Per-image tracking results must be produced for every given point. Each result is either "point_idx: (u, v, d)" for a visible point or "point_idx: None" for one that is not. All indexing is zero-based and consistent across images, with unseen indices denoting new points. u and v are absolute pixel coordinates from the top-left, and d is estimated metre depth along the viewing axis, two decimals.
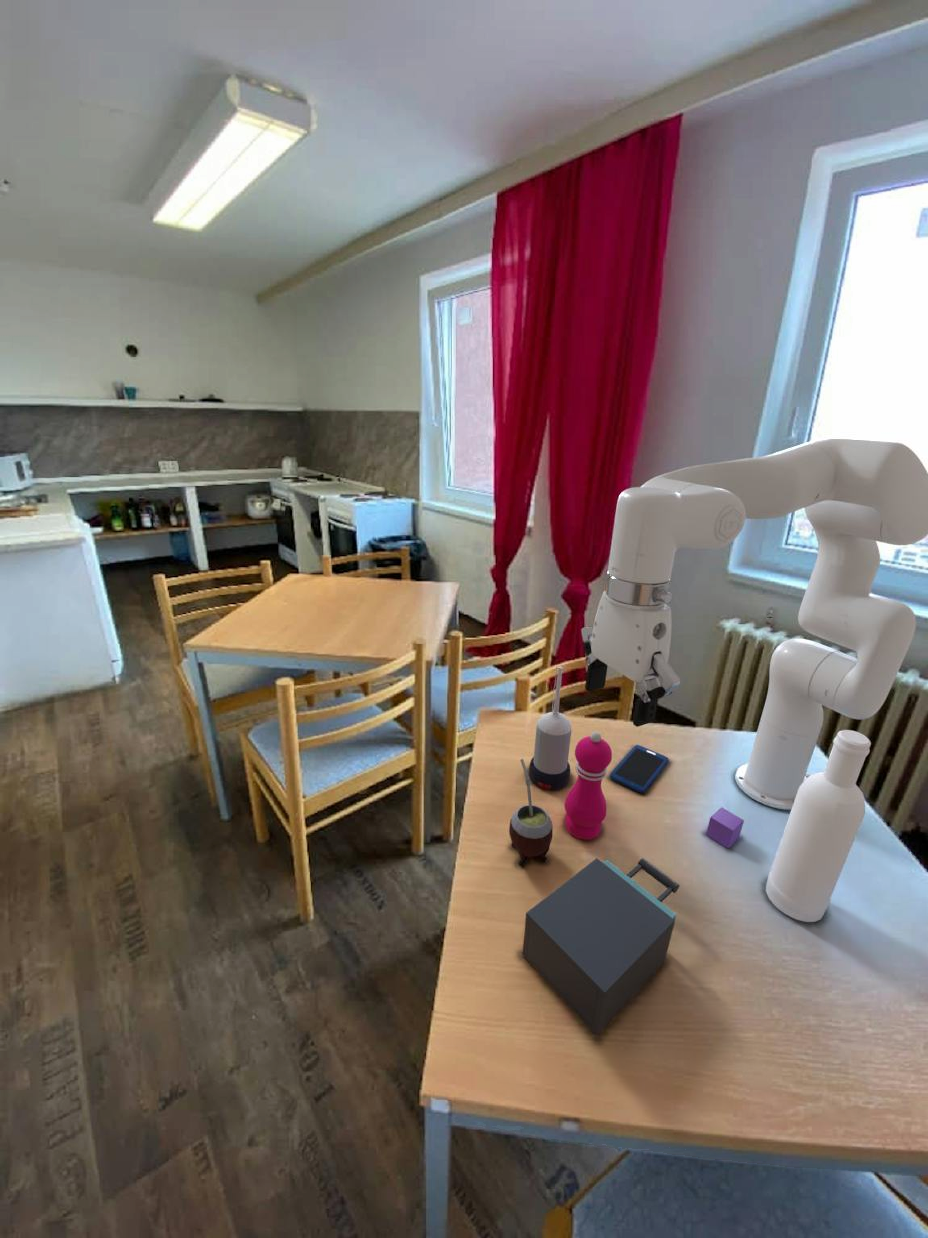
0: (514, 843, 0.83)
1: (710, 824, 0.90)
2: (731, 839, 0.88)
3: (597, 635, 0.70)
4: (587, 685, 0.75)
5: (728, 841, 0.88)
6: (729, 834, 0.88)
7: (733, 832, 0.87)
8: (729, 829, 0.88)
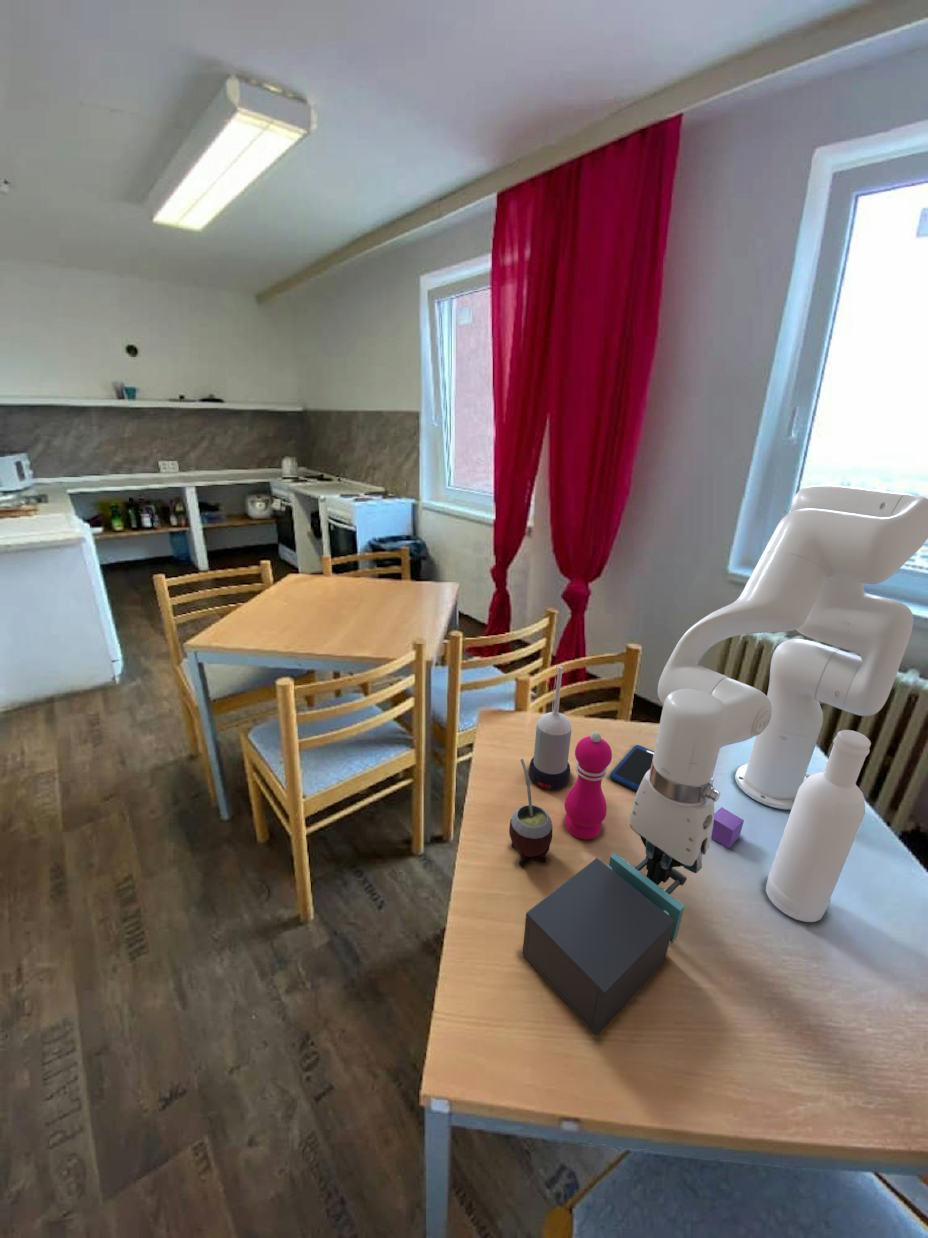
0: (514, 843, 0.83)
1: None
2: (731, 839, 0.88)
3: (639, 814, 0.73)
4: (649, 877, 0.75)
5: (728, 841, 0.88)
6: (729, 834, 0.88)
7: (733, 832, 0.87)
8: (729, 829, 0.88)
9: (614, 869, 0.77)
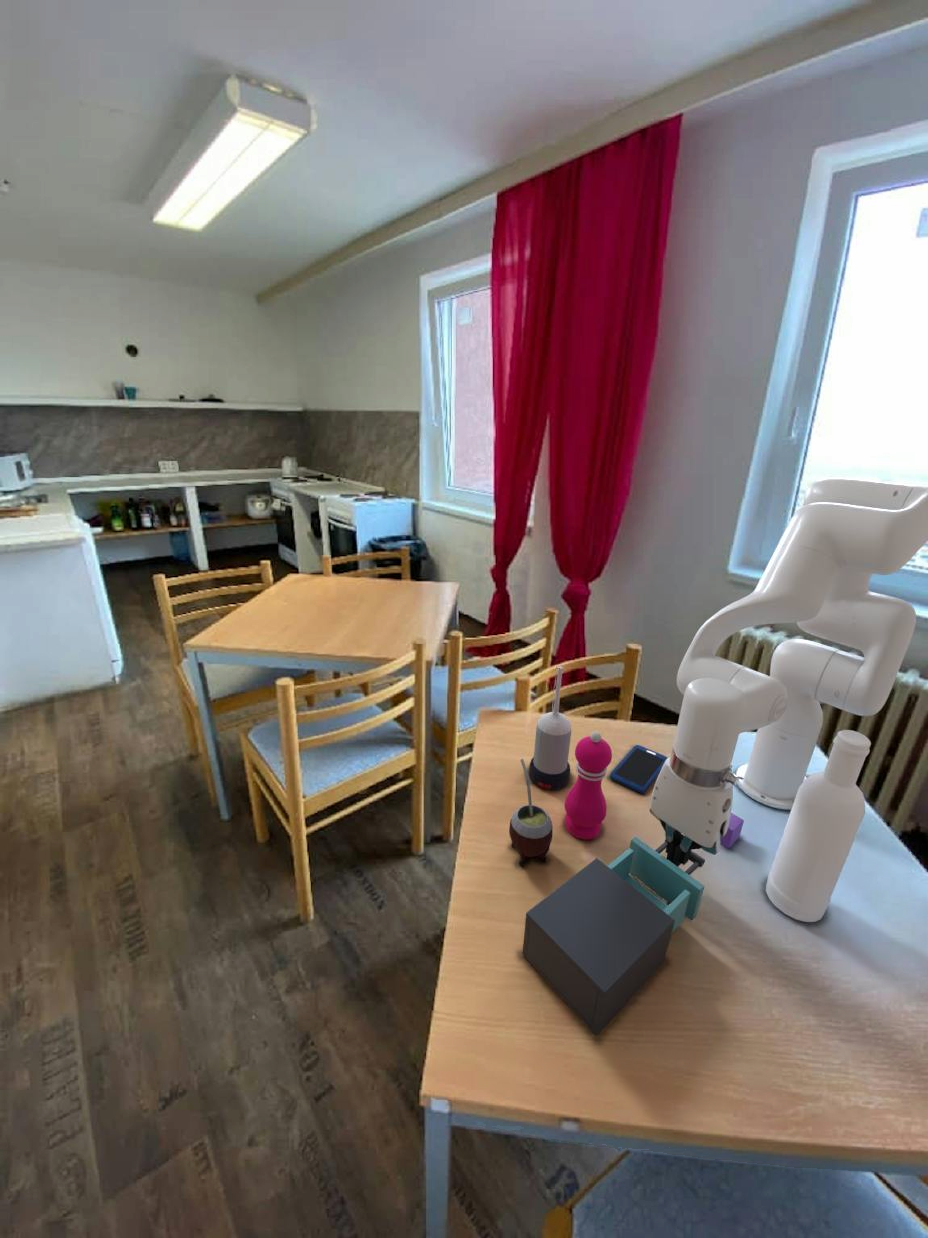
0: (514, 843, 0.83)
1: None
2: (731, 839, 0.88)
3: (660, 799, 0.76)
4: None
5: (728, 841, 0.88)
6: (729, 834, 0.88)
7: (733, 832, 0.87)
8: (729, 829, 0.88)
9: (635, 852, 0.80)
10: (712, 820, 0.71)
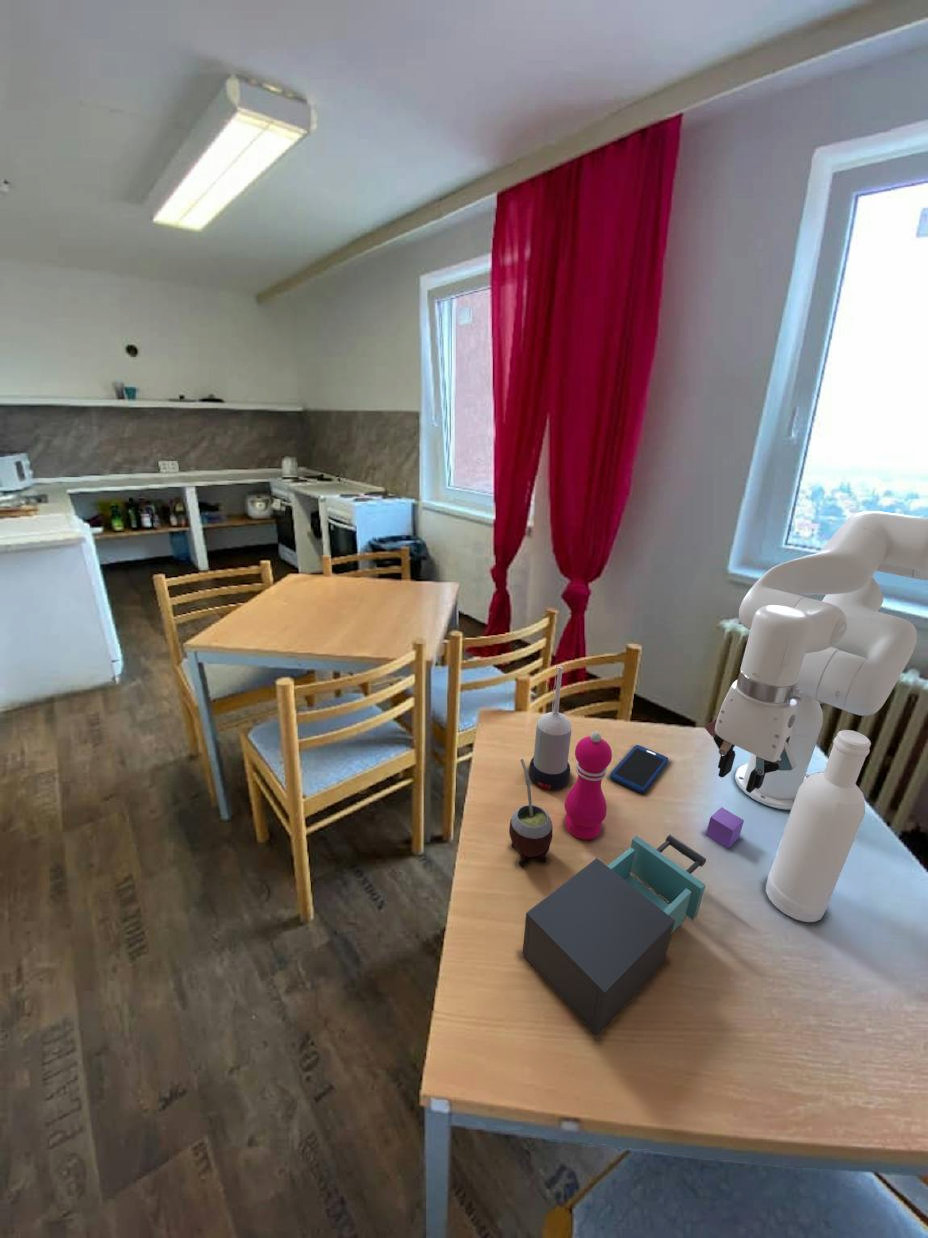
0: (514, 843, 0.83)
1: (710, 824, 0.90)
2: (731, 839, 0.88)
3: (726, 721, 0.83)
4: (721, 773, 0.87)
5: (728, 841, 0.88)
6: (729, 834, 0.88)
7: (733, 832, 0.87)
8: (729, 829, 0.88)
9: (636, 851, 0.81)
10: (778, 734, 0.77)
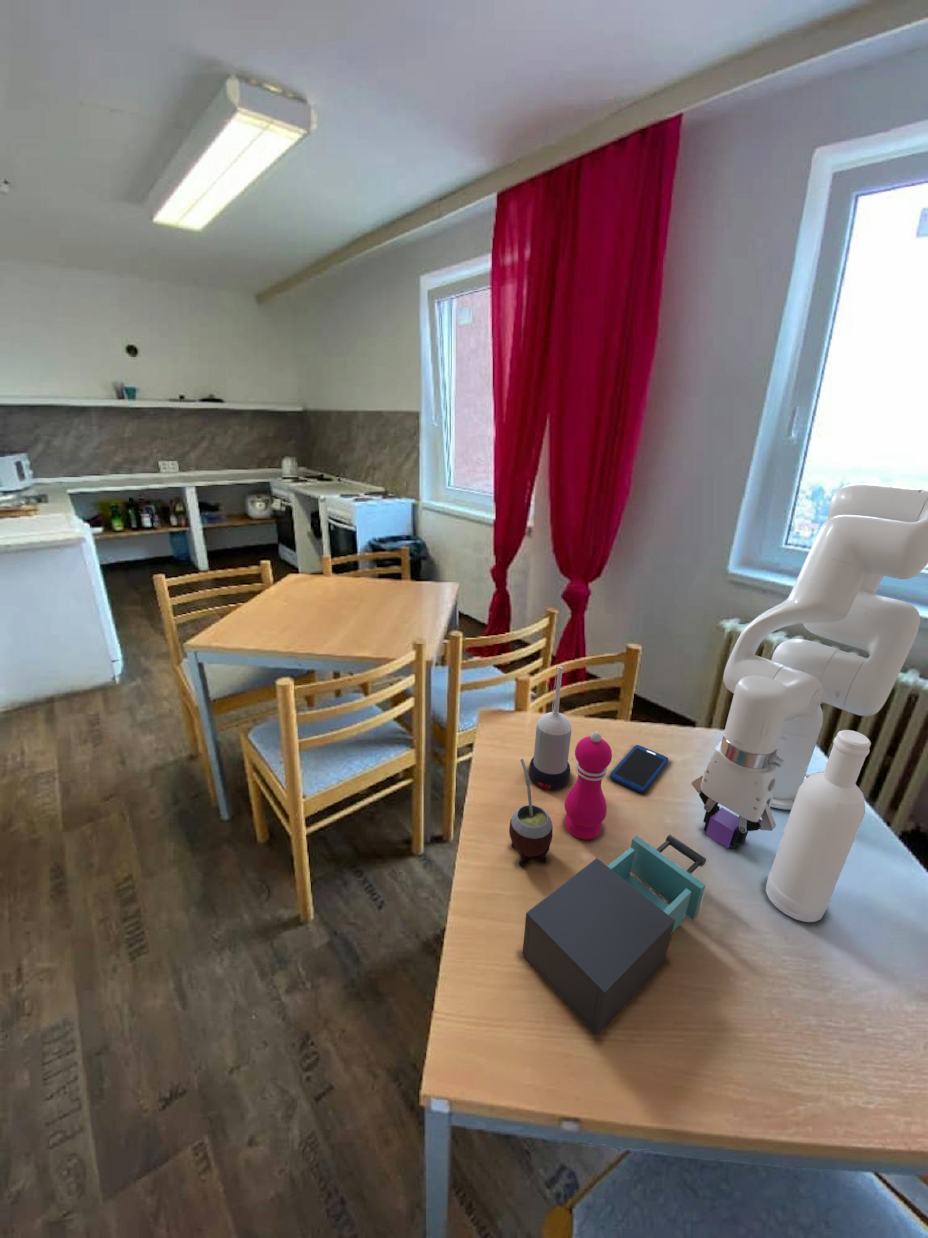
0: (514, 843, 0.83)
1: (710, 824, 0.90)
2: (731, 839, 0.88)
3: (710, 781, 0.88)
4: (706, 827, 0.91)
5: (728, 841, 0.88)
6: (729, 834, 0.88)
7: (733, 832, 0.87)
8: (729, 829, 0.88)
9: (636, 851, 0.81)
10: (759, 797, 0.82)
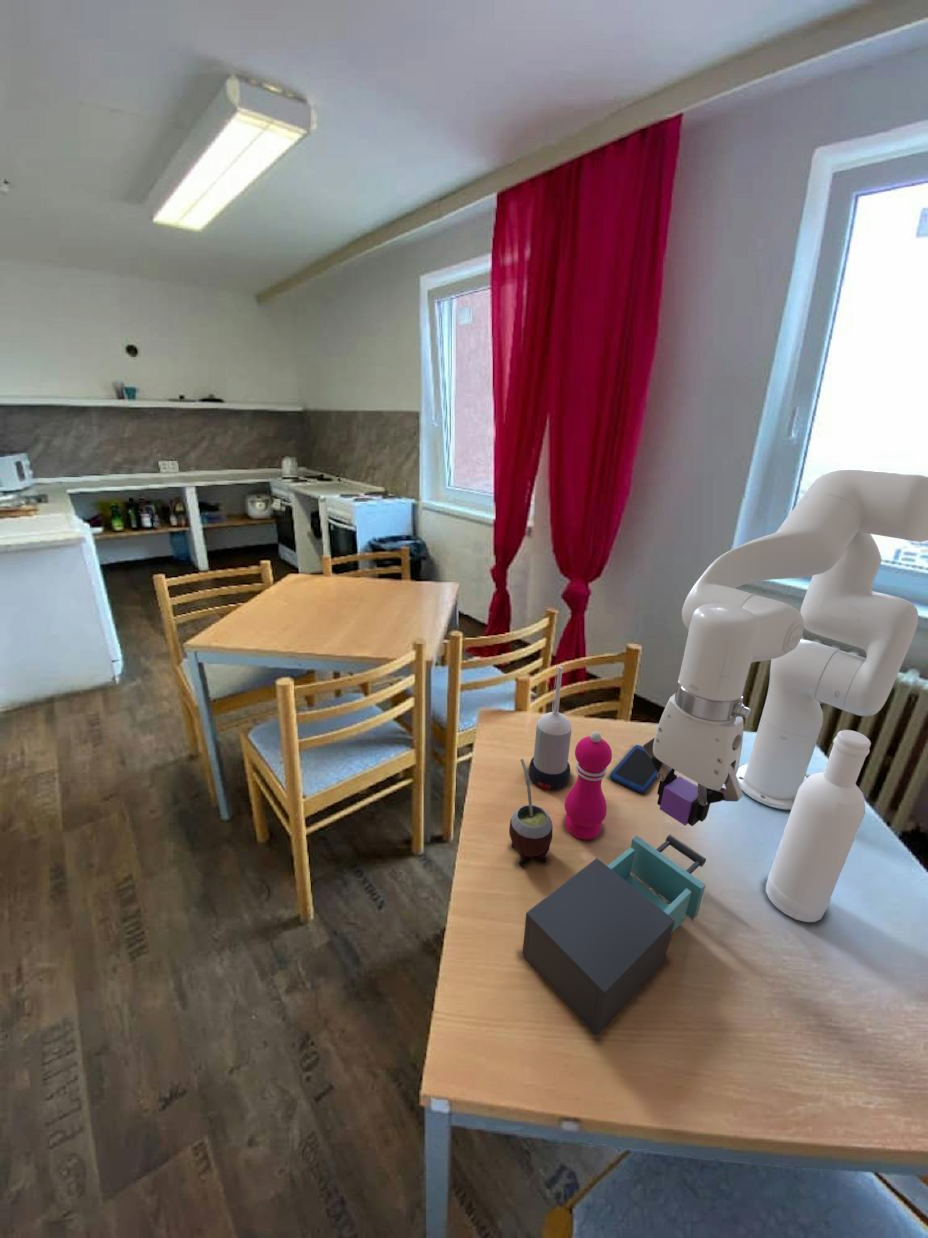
0: (514, 843, 0.83)
1: (664, 796, 0.73)
2: (689, 814, 0.71)
3: (663, 741, 0.70)
4: (660, 801, 0.74)
5: (685, 816, 0.71)
6: (686, 808, 0.70)
7: (691, 805, 0.70)
8: (686, 801, 0.70)
9: (636, 851, 0.81)
10: (721, 758, 0.65)
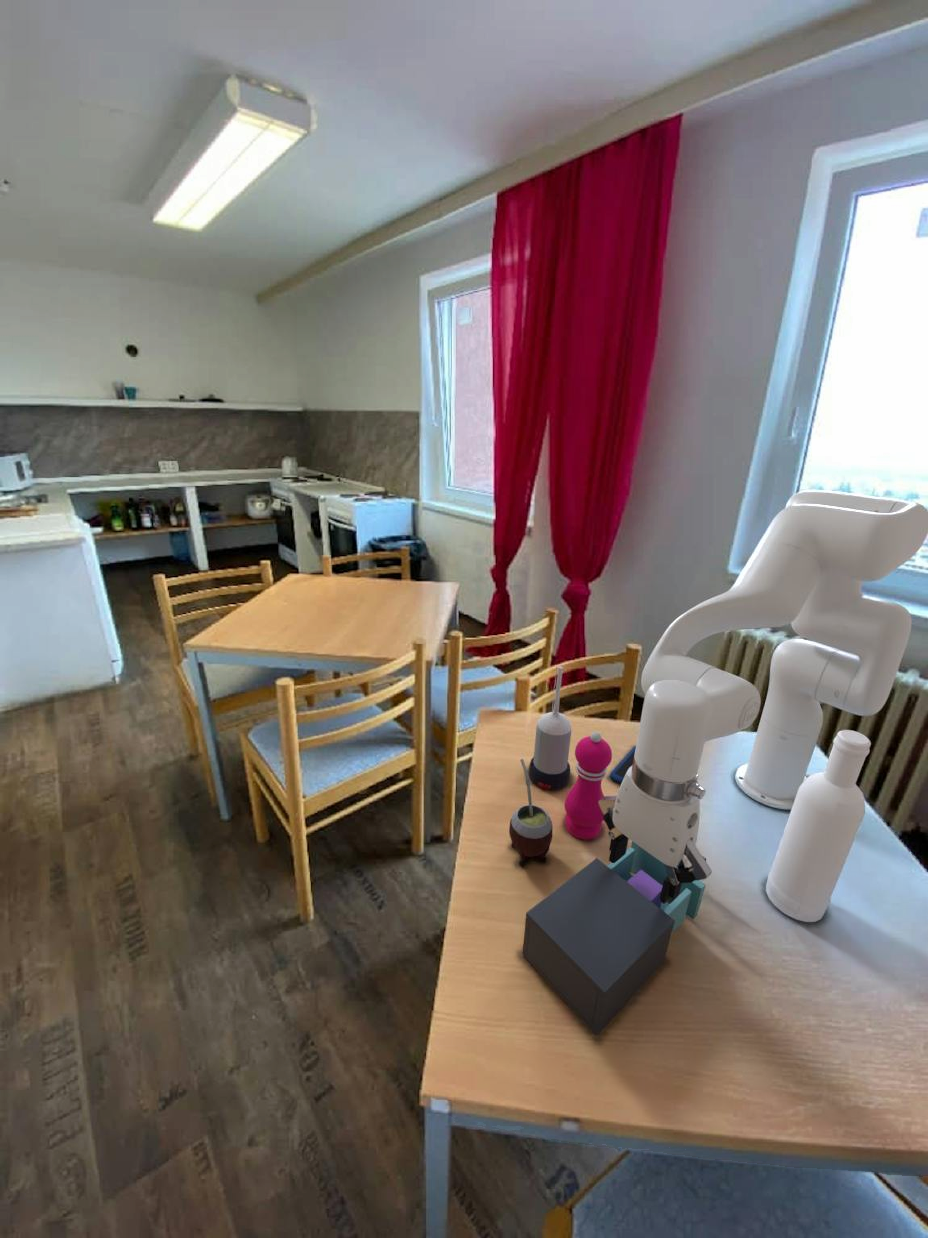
0: (514, 843, 0.83)
1: (637, 875, 0.76)
2: (656, 897, 0.73)
3: (622, 813, 0.69)
4: (612, 858, 0.74)
5: (653, 895, 0.73)
6: (658, 890, 0.74)
7: None
8: (660, 885, 0.74)
9: (636, 851, 0.81)
10: (676, 837, 0.64)
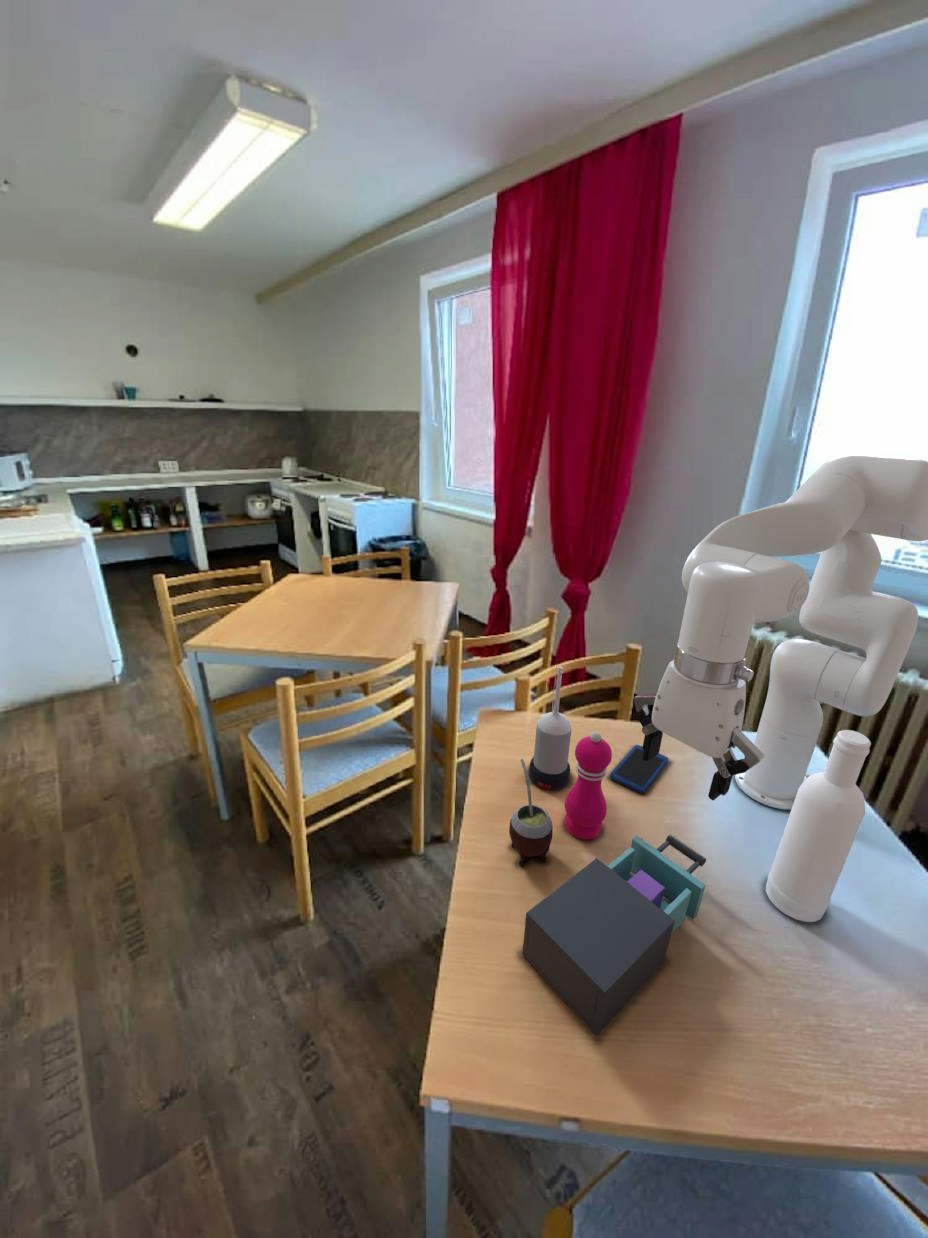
0: (514, 843, 0.83)
1: (637, 875, 0.76)
2: (656, 897, 0.73)
3: (662, 708, 0.68)
4: (645, 755, 0.73)
5: (653, 895, 0.73)
6: (658, 890, 0.74)
7: (662, 891, 0.74)
8: (660, 885, 0.74)
9: (636, 851, 0.81)
10: (722, 724, 0.62)
